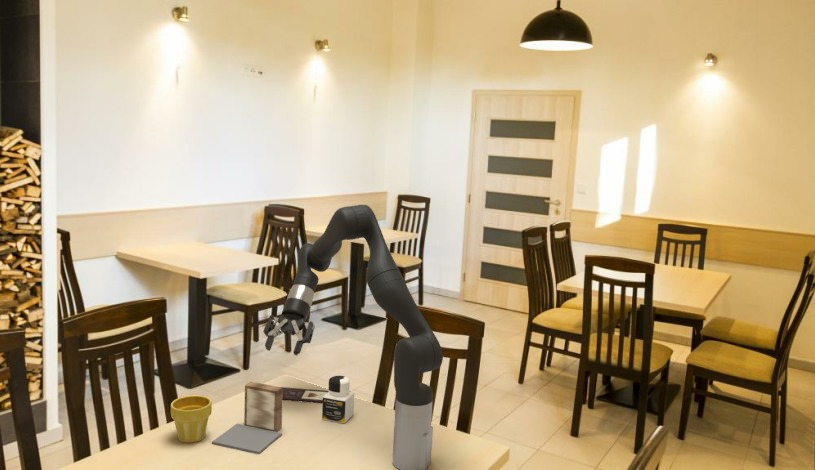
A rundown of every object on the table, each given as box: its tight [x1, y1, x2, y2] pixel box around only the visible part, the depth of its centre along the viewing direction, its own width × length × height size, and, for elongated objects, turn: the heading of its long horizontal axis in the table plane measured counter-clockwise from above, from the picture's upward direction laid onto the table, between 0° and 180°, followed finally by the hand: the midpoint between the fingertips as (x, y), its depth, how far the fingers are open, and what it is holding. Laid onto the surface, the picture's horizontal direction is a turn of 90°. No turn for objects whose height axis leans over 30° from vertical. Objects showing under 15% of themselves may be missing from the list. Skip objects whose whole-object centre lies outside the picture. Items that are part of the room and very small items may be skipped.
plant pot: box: [170, 394, 213, 444], centre depth 178 cm, size 10×10×10 cm
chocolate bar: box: [282, 386, 329, 404], centre depth 210 cm, size 9×1×18 cm
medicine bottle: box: [321, 375, 355, 424], centre depth 195 cm, size 7×7×12 cm
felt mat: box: [211, 423, 283, 455], centre depth 179 cm, size 14×12×1 cm
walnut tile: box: [243, 381, 284, 432], centre depth 186 cm, size 10×3×12 cm, turn 72°
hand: (281, 351), depth 195 cm, fingers open, 8 cm apart
